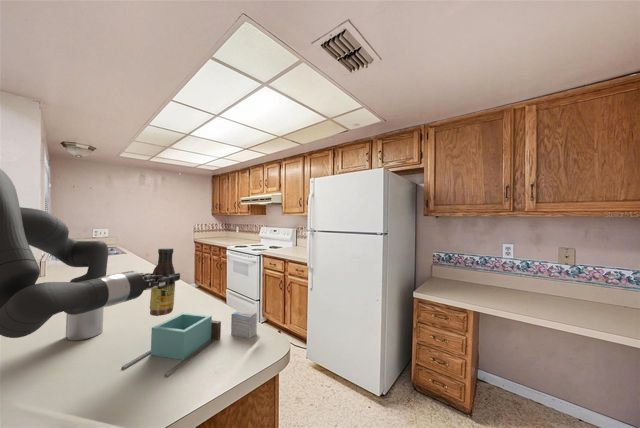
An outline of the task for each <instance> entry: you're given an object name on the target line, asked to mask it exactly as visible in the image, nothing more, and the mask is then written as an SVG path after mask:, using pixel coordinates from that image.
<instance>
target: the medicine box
mask: <svg viewBox="0 0 640 428" xmlns="http://www.w3.org/2000/svg"><path fill="white" fill-rule="evenodd" d="M257 316H258V315H257V312H254V311H248V310H242V309H239V310H237V311H234V312H233V313H231V317H230V318H231V321H230V322H231V324H230V335H231V336H237V337H241V338H246V339H251V338H252V337H254V336H255V335H257V327H258V326H257V325H258V324H257V319H258V318H257Z"/></svg>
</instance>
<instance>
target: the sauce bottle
mask: <svg viewBox="0 0 640 428" xmlns="http://www.w3.org/2000/svg"><path fill="white" fill-rule="evenodd" d="M157 252H158V261H157V264H156V266H155V267H154V269H153V270H152V271H153V272H152V273H153V275H160V274H161V275H163V276H165V275H171V274H175V273H176V271H175V267H174V265H173V254H174V248H171V247H164V248H163V247H161V248H160V247H159V248H158V251H157ZM156 278H157V282H158V280H159V277H156ZM175 289H176V281H175V282H174V285H171V286H168V287H165V288H163V289H158V287H157V288H152V289H150V299H149V300H150V302H149V309H150V311H149V315H150V316H154V317H158V316H159V317H161V316H165V315H166V316H167V315H168V314H171V313H172V312H173V311H174V307H175V306H174V305H175V291H176V290H175Z"/></svg>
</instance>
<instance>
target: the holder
mask: <svg viewBox="0 0 640 428" xmlns="http://www.w3.org/2000/svg"><path fill="white" fill-rule="evenodd" d="M212 318H213V315H205V314H199V313H198V314H197V313H188V312H181V313H179V314H177V315H175V316H173V317H170V318H168V319H167V320H165V321H163V322H161V323H159V324H156V325H154V326H152V327H151V335H150V336H151V340H150V350H151V354H150V355H151V356H156V357H162V358H169V359H176V360H180V361H183V360H184V359H186V358H187V357H188V356H190V355H191V354H192V353H194V352H195V351H197V350H198V349H199V348H201V347H202V346H203V345H205V344H206V343H207V342H209V341H210V340H211V324H212Z"/></svg>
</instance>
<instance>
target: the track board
mask: <svg viewBox="0 0 640 428" xmlns="http://www.w3.org/2000/svg"><path fill="white" fill-rule="evenodd" d="M221 324H222V321H220V320H212V324H211V340H210V341H209V342H207V343H206V344H205V345H203V346H202V347H201V348H199V349H198V350H197V351H195V352H194V353H192V354H191V355H190V356H188V357H187V358H186V359H184V360H181V361H180V362H179V363H178V364H176V365H175V366H173V367H172V368H171V369H170V370H168V371H166V372H165V373H164V377H165V378H166V377H167V378H169V377H170V376H171V375H173V373H175V372H176V371H177V370H179V369H180V368H182V367H183V366H184V365H185V364H187V363H188V362H190V361H191V360H192V359H193V358H195V357H196V356H197V355H198V354H200V353H201V352H203V351H205V349H206V348H208V347H210V345H212V344H213V343H214V342H216V341H219V340H220V339H221V336H222V335H221V334H222V333H221V332H222V325H221ZM149 355H151V349H150V350H148V351H147V352H145V353H143V354H141V355H139V356H138V357H136V358H134V359H132V360H131V361H129V362H127V363H126V364H124V365H122V366H121V370H126V369H128V368H130V367H131V366H133V365H134V364H136V363H137V362H140V361H141V360H143V359H144V358H146V357H148V356H149Z"/></svg>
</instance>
